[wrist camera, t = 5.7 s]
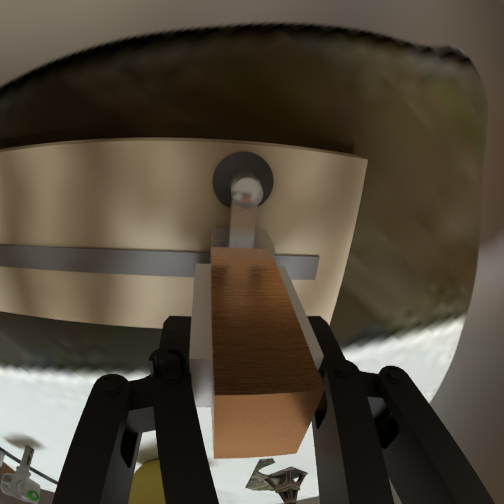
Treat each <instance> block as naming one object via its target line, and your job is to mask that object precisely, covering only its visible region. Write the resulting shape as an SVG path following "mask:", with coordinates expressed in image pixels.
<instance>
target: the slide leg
mask: <svg viewBox="0 0 504 504" xmlns="http://www.w3.org/2000/svg"><path fill="white" fill-rule="evenodd" d="M230 189H231V193H232V195H231V207H230V221H229V228H215V227H211V249H210V264H211V332H212V407H211V413H212V433H213V451H214V459H218V458H249V457H264V456H276V455H286V454H294V453H297V451H298V449H299V446H300V444H301V442H302V440H303V438H304V436H305V434H306V432H307V429H308V427H309V425H310V423H311V420H312V418H313V416H314V414H315V411H316V409H317V407H318V404H319V402H320V400H321V397H322V395H323V392H324V390H325V389H324V386H323V384H322V381H321V378H320V376H319V373H318V370H317V368H316V365H315V363H314V360H313V357H312V355H311V352H310V349H309V347H308V344H307V342H306V339H305V337H304V334H303V331H302V329H301V326H300V324H299V321H298V318H297V316H296V313H295V311H294V308H293V306H292V303H291V301H290V298H289V295H288V293H287V290H286V288H285V285H284V283H283V280H282V278H281V275H280V273H279V270H278V268H277V265H276V263H275V260H274V254H275V248H274V245H273V243H272V241H271V238H270V236H269V234H268V232H267V230H261V229H255V224H256V215H257V206H258V204H259V203H260V202H261V200H262V197H263V189H262V187H261V185H260V180H259V179H258V177H255V176H254V174H253V173H251V172H250V171H247V170H240V171H237V172H236V173H234V174H233V176H232V177H231V179H230Z"/></svg>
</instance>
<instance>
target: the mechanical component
mask: <svg viewBox="0 0 504 504" xmlns="http://www.w3.org/2000/svg"><path fill="white" fill-rule="evenodd" d="M33 453H34V450H30V447H29V446H26V448H25V451H24V454H23V457H22V461H21V464H20V466H17V467H16V468H17V470H16V473H15V474H10V473H5V474H4V475H3V477H2V481H1V485H0V487H1V490H2V491H3V492H4V493H5V494H7V495H9V496H14V497H16V498H18V499H20V500H22V501H26V502H30V503H35V504H38V501H39V496H40V495H39V494H40V485H39V484H37V483H36V482H34V481H32V480H31V479H29V477H30V475H31V473H30V472H29V468H30V464H31V460H32V457H33Z"/></svg>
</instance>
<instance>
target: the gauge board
mask: <svg viewBox="0 0 504 504" xmlns="http://www.w3.org/2000/svg"><path fill="white" fill-rule="evenodd" d="M367 162H368V160H367V159H365V158H362V157H359V156H357V155H354V154H349V153H343V152H336V151H330V150H323V149H316V148H308V147H300V146H292V145H283V144H274V143H263V142H252V141H239V140H224V139H204V138H163V137H148V138H108V139H89V140H75V141H63V142H52V143H43V144H34V145H26V146H19V147H12V148H5V149H0V311H3V312H9V313H16V314H22V315H29V316H35V317H43V318H50V319H58V320H66V321H75V322H84V323H94V324H105V325H117V326H130V327H145V328H163V323H164V322H165V320H166V319H167V318H168V317H169V316H192V303H193V289H194V276H195V265H196V264H210V249H211V227H215V228H229V221H230V207H231V195H232V193H231V189H230V179H231V177H232V176H233V174H234V173H236V172H237V171H240V170H247V171H250V172H251V173H253V174H254V176H255V177H258V179H259V180H260V185H261V187H262V189H263V197H262V200H261V202H260V203H259V204H258V206H257V215H256V224H255V229H261V230H267V232H268V234H269V236H270V238H271V241H272V243H273V245H274V248H275V254H274V260H275V263H276V265H277V266H285V268H286V270H287V272H288V274H289V277H290V279H291V281H292V283H293V286H294V288H295V290H296V292H297V295H298V297H299V299H300V302H301V304H302V306H303V308H304V311H305V313H306V315H307V316H321V317H322V318H323V319H324V320H325V321H326V322H327V323H328V325H330V321H331V318H332V314H333V311H334V307H335V304H336V300H337V297H338V293H339V289H340V286H341V282H342V278H343V274H344V270H345V266H346V262H347V258H348V254H349V250H350V246H351V241H352V237H353V233H354V228H355V224H356V219H357V214H358V210H359V205H360V200H361V195H362V189H363V184H364V179H365V173H366V167H367Z"/></svg>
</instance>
